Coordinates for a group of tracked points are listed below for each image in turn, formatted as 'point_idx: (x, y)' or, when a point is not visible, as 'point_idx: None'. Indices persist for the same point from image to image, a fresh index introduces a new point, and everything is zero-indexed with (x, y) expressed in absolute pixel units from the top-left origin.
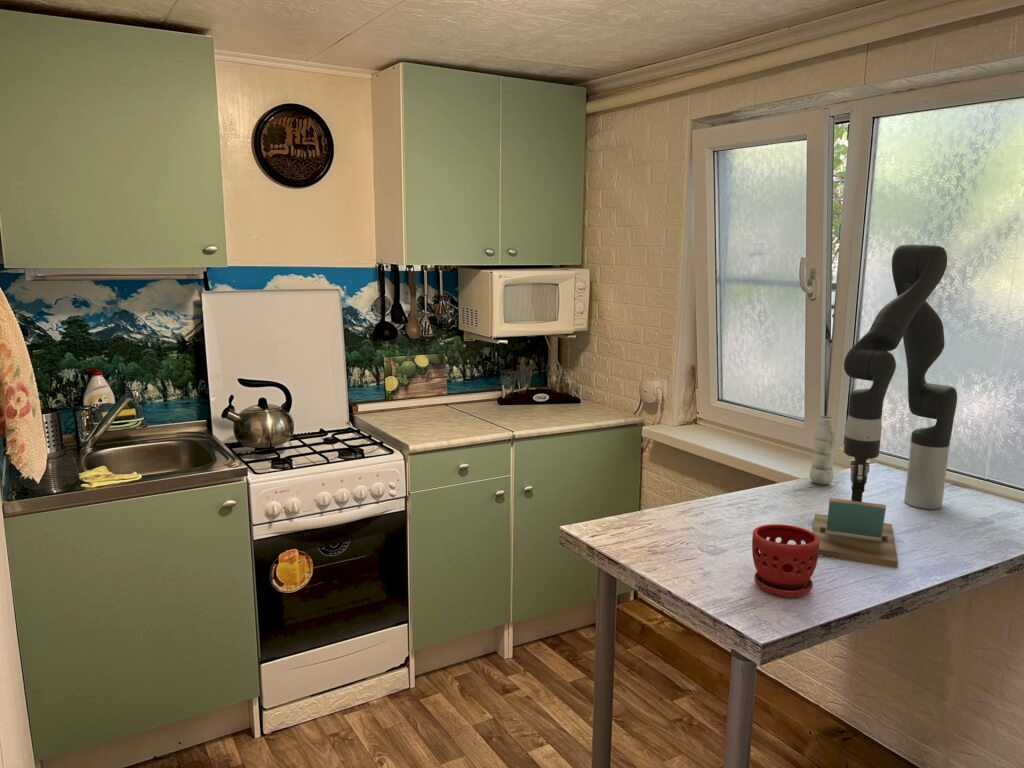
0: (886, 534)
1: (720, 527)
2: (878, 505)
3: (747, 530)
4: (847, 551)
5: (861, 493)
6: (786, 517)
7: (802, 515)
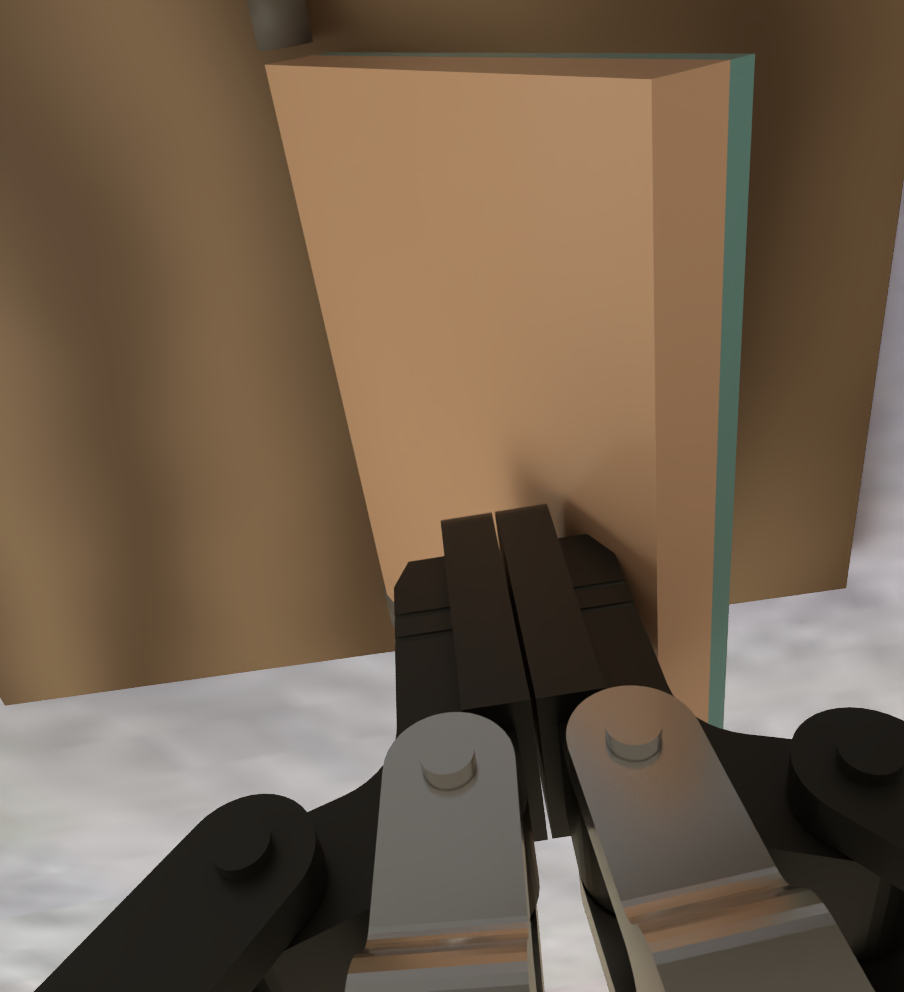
0: (50, 3)
1: (574, 981)
2: (697, 246)
3: (547, 896)
4: (822, 336)
5: (595, 686)
6: (147, 803)
7: (11, 741)
